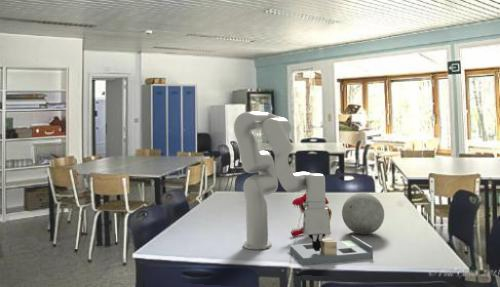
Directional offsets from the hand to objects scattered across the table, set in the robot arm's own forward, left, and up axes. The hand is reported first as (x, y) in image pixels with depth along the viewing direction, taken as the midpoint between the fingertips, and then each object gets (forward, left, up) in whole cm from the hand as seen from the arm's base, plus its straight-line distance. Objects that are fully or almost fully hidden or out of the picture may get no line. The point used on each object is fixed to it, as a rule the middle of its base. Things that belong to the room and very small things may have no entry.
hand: (316, 250), depth 166 cm
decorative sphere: (-30, +35, -4) cm, 46 cm away
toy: (-40, +12, -4) cm, 42 cm away
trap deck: (-5, +7, -4) cm, 9 cm away
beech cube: (0, +5, -1) cm, 5 cm away
